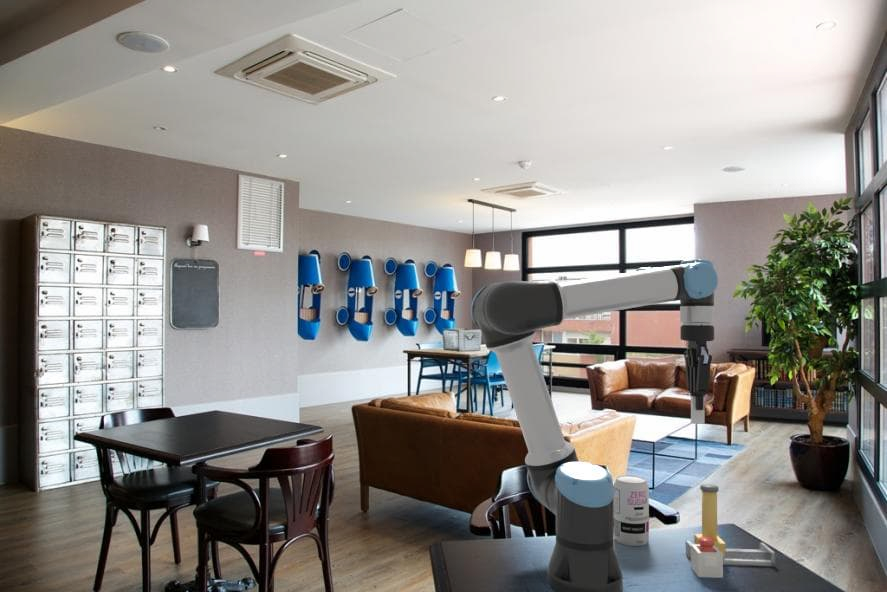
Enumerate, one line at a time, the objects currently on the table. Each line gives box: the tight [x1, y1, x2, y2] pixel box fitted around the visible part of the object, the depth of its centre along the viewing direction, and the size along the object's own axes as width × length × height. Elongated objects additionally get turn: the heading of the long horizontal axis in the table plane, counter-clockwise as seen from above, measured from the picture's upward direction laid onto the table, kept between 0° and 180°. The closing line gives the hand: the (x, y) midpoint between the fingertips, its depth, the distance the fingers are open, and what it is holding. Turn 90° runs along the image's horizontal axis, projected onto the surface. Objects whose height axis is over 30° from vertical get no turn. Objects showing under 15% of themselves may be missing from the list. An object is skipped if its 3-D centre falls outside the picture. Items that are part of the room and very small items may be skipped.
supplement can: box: [613, 474, 650, 547], centre depth 152 cm, size 8×8×15 cm
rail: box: [685, 540, 776, 567], centre depth 141 cm, size 17×6×3 cm, turn 86°
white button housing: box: [690, 543, 724, 579], centre depth 134 cm, size 5×5×5 cm
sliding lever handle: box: [693, 483, 727, 557], centre depth 141 cm, size 5×6×15 cm
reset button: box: [698, 537, 715, 552], centre depth 134 cm, size 3×3×5 cm
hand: (697, 423), depth 149 cm, fingers closed
